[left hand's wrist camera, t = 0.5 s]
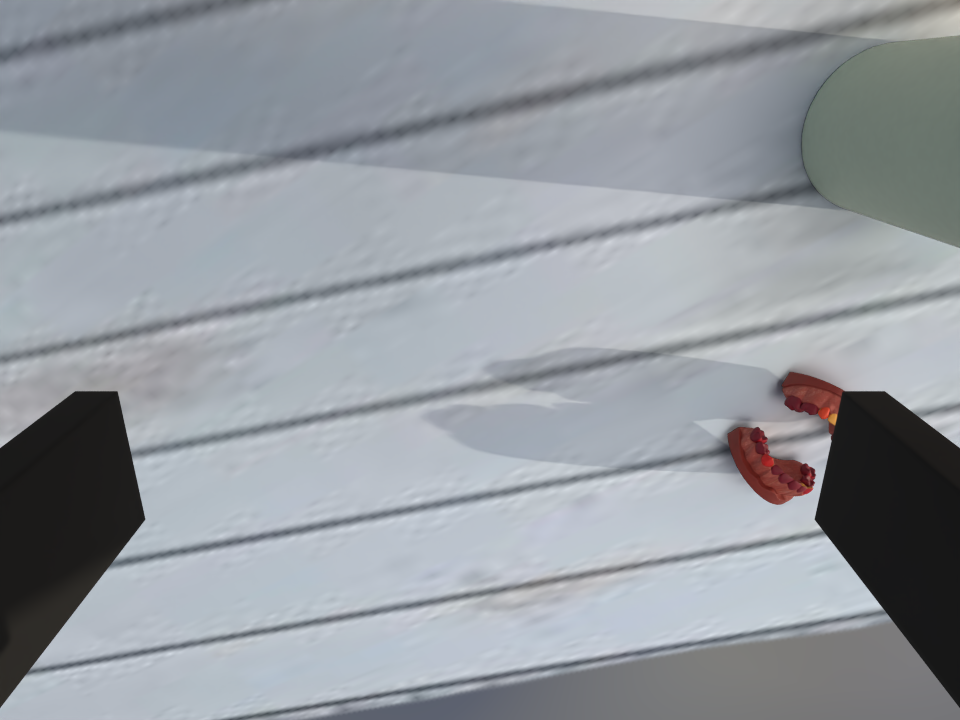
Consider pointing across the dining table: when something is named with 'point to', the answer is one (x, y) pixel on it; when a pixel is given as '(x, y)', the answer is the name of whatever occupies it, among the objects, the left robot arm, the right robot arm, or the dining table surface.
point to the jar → (891, 136)
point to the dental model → (751, 454)
